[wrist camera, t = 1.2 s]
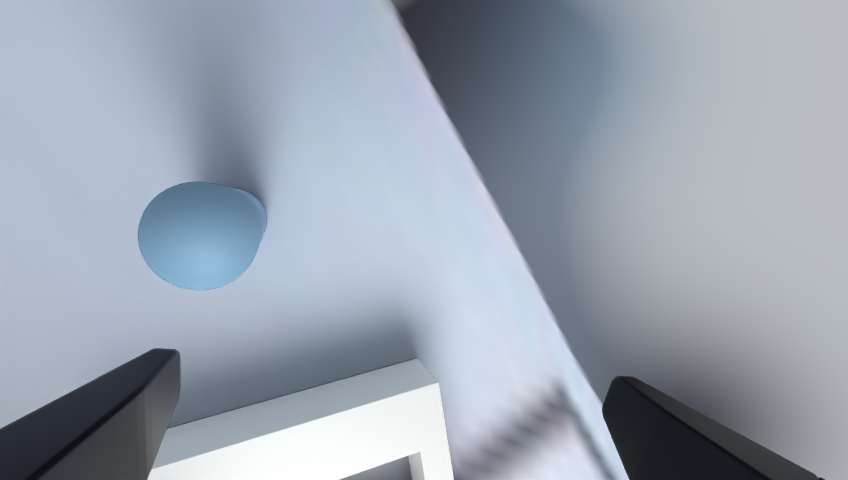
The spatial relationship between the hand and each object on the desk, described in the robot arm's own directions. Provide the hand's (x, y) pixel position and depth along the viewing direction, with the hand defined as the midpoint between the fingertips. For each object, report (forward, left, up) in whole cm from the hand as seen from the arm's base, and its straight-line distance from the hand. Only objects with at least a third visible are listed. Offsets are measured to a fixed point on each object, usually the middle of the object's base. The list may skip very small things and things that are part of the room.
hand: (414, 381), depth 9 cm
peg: (-4, +3, -15) cm, 16 cm away
